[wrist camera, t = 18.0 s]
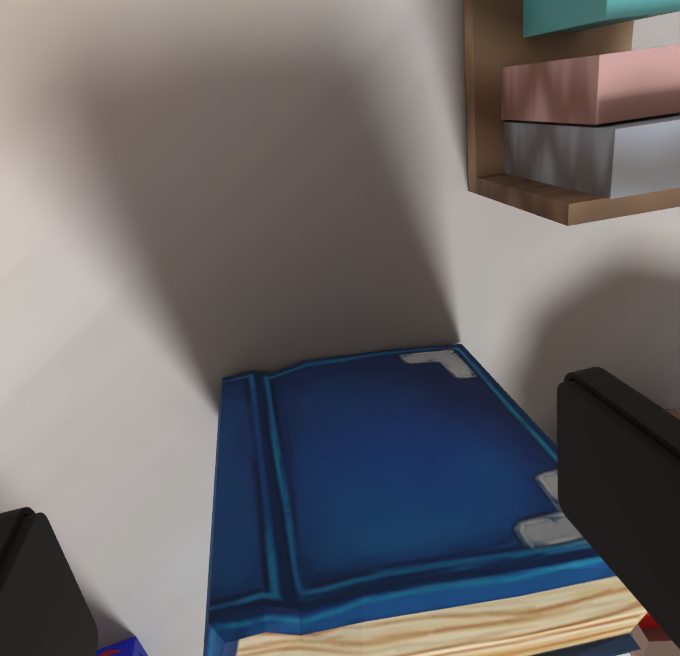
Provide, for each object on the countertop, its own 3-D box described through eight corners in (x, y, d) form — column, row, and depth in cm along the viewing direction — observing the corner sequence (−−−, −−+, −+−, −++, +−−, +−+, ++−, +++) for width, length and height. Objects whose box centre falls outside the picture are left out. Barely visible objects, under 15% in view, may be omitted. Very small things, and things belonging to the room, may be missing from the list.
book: (215, 443, 47) (211, 764, 24) (204, 368, 44) (188, 649, 21) (458, 409, 50) (654, 660, 28) (461, 337, 48) (681, 550, 25)
